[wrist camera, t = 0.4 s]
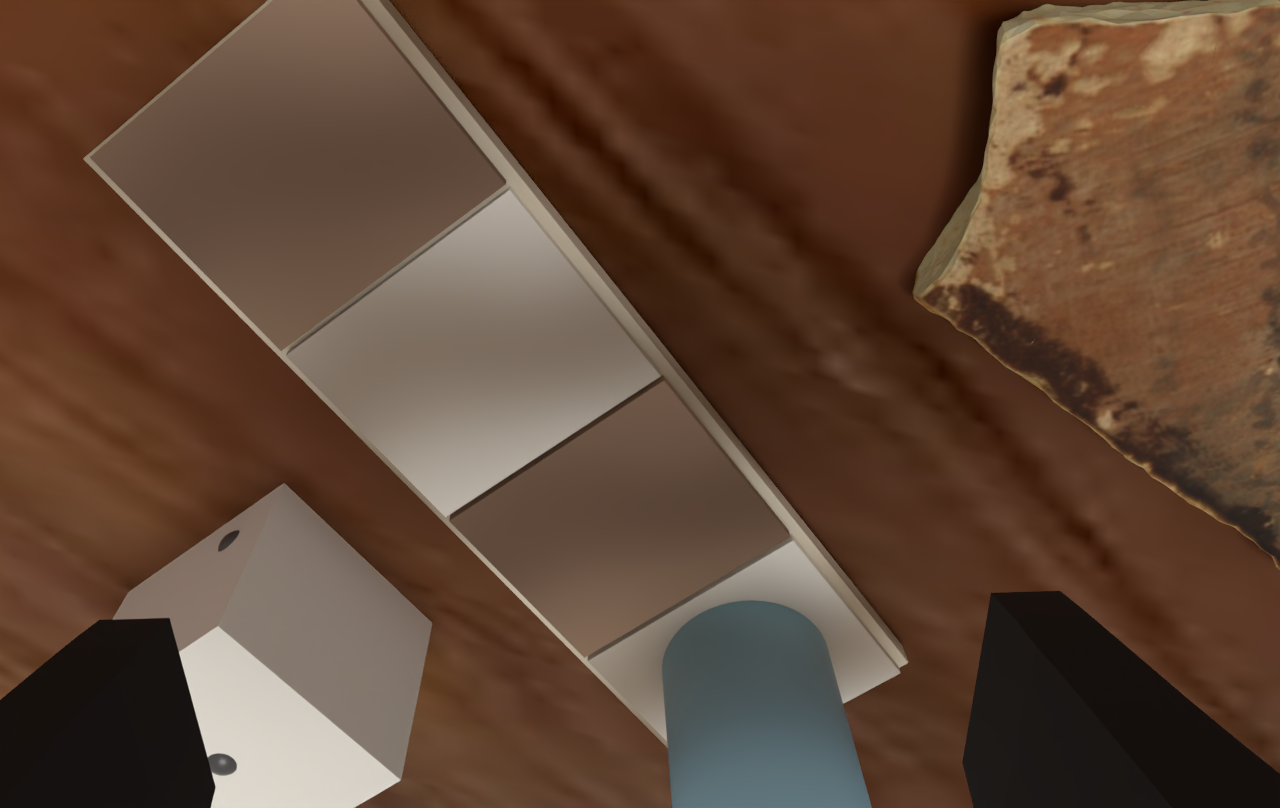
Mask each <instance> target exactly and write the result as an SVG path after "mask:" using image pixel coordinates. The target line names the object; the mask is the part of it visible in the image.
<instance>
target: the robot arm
mask: <svg viewBox="0 0 1280 808" xmlns="http://www.w3.org/2000/svg"><path fill="white" fill-rule="evenodd" d="M963 767H964V770H965V774H966V778H967V782H968V786H969V790H970V794H971V798H972V802H973V806H974V808H1280V774H1279V773H1278V772H1277V771H1276V770H1274V769H1273V768H1272V767H1271V766H1269V765H1268V764H1267V763H1266V762H1264V761H1263V760H1262V759H1261V758H1259V757H1258V756H1257V755H1256V754H1254V753H1253V752H1252V751H1251V750H1249V749H1248V748H1247V747H1246V746H1244V745H1243V744H1242V743H1241V742H1239V741H1238V740H1237V739H1236V738H1235V737H1233V736H1232V735H1231V734H1230V733H1228V732H1227V731H1226V730H1225V729H1224V728H1222V727H1221V726H1220V725H1219V724H1217V723H1216V722H1215V721H1214V720H1213V719H1211V718H1210V717H1209V716H1208V715H1207V714H1205V713H1204V712H1203V711H1202V710H1201V709H1199V708H1198V707H1197V706H1196V705H1195V704H1193V703H1192V702H1191V701H1190V700H1189V699H1187V698H1186V697H1185V696H1184V695H1183V694H1181V693H1180V692H1179V691H1178V690H1177V689H1176V688H1174V687H1173V686H1172V685H1171V684H1170V683H1169V682H1167V681H1166V680H1165V679H1164V678H1163V677H1161V676H1160V675H1159V674H1158V673H1157V672H1156V671H1154V670H1153V669H1152V668H1151V667H1150V666H1149V665H1147V664H1146V663H1145V662H1144V661H1143V660H1141V659H1140V658H1139V657H1138V656H1137V655H1136V654H1134V653H1133V652H1132V651H1131V650H1130V649H1129V648H1127V647H1126V646H1125V645H1124V644H1123V643H1122V642H1120V641H1119V640H1118V639H1117V638H1116V637H1115V636H1113V635H1112V634H1111V633H1110V632H1109V631H1108V630H1106V629H1105V628H1104V627H1103V626H1102V625H1101V624H1099V623H1098V622H1097V621H1096V620H1095V619H1094V618H1092V617H1091V616H1090V615H1089V614H1088V613H1086V612H1085V611H1084V610H1083V609H1082V608H1080V607H1079V606H1078V605H1077V604H1075V603H1074V602H1073V601H1072V600H1071V599H1069V598H1068V597H1067V596H1066V595H1064V594H1063V593H1062V592H1060V591H1043V592H1010V593H991V597H990V603H989V609H988V615H987V621H986V627H985V632H984V638H983V644H982V650H981V656H980V662H979V668H978V674H977V680H976V686H975V692H974V698H973V703H972V709H971V715H970V721H969V727H968V733H967V739H966V745H965V751H964V757H963ZM215 788H216V786H215V783H214V779H213V775H212V772H211V768H210V764H209V761H208V757H207V753H206V750H205V746H204V742H203V739H202V735H201V731H200V728H199V724H198V720H197V717H196V713H195V709H194V706H193V702H192V698H191V695H190V691H189V688H188V684H187V680H186V677H185V673H184V669H183V666H182V662H181V658H180V655H179V651H178V647H177V644H176V640H175V636H174V633H173V629H172V625H171V622H170V618H149V619H116V620H99V621H97V622H96V623H95V624H93V625H92V626H91V627H90V628H88V629H87V630H86V631H84V632H83V633H82V634H80V635H79V636H78V637H76V638H75V639H74V640H73V641H71V642H70V643H69V644H68V645H66V646H65V647H64V648H63V649H61V650H60V651H59V652H58V653H56V654H55V655H54V656H53V657H52V658H50V659H49V660H48V661H47V662H45V663H44V664H43V665H42V666H41V667H39V668H38V669H37V670H36V671H35V672H33V673H32V674H31V675H30V676H29V677H27V678H26V679H25V680H24V681H23V682H21V683H20V684H19V685H18V686H17V687H15V688H14V689H13V690H12V691H11V692H9V693H8V694H7V695H6V696H5V697H3V698H2V699H1V700H0V808H211V804H212V800H213V796H214V792H215Z"/></svg>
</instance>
